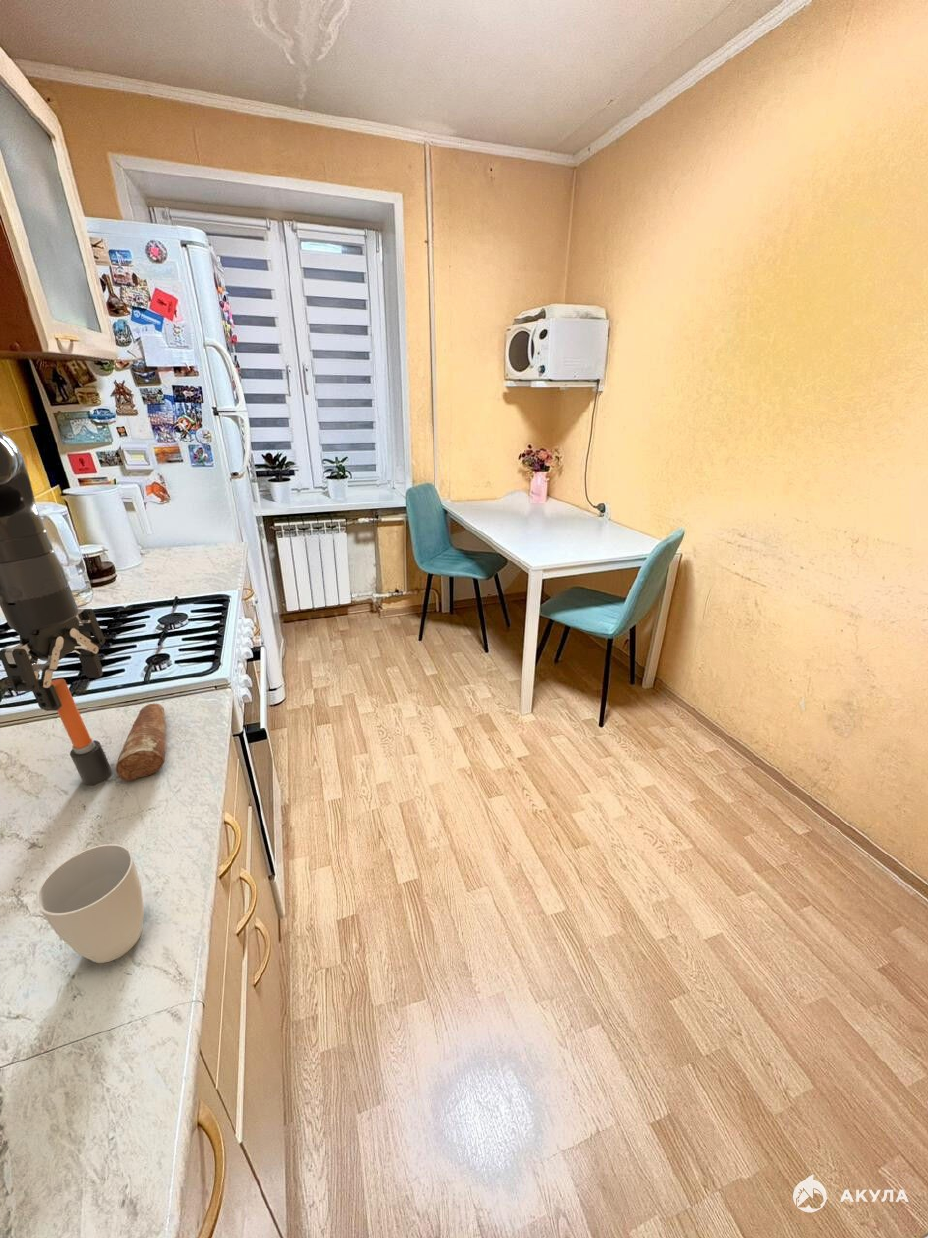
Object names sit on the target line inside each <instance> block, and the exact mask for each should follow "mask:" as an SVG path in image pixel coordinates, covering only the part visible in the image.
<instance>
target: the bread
mask: <svg viewBox="0 0 928 1238" xmlns="http://www.w3.org/2000/svg"><path fill="white" fill-rule="evenodd" d="M165 717H166V716H165V708H164V706H162V705H161V704H159V703H149V704H146V705H145V706H143V707H142V708H141V709H139V713H138V715H137V717H136V719H135V720H134V722H133V724H132V727H131V729H130V732H129V733H128V735H127V737H126V740H125V742H124V744H123V746H122V748H121V752H120V753H119V756H118V759H117V762H116V767H115V771H116V774H117V775H118V776H119V777H120V779H123V780H124V781H134V780H137V779H139V778H140V779H141V778H143V777H147V776H150V775H153V774H155V773H156V772H158V771H159V770H160V769H162V767H163V765H164V764H165V760H166V752H167V751H166V747H167V746H166V719H165Z"/></svg>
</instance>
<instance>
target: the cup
mask: <svg viewBox="0 0 928 1238" xmlns="http://www.w3.org/2000/svg"><path fill="white" fill-rule="evenodd" d="M35 903H36V906H37V908H38V910H39V911H40V913H41V915H43V917H44V918H45V919H46V921H47V922H48V924H49V925H50V927H51V928H52V929H53V931H54V932H55V934H56V935H57V936H58V937H59V938H60V939H61V940H62V941H64V943H66V945H68V946H69V947H70V948H71V949H72V950H73V951H74V952H75V953H76V954H78V955H80V956H82V957H84V958H86V959H87V960H90V961H91V962H94V963H97V964H104V963H109V962H113V961H114V960H116V959H119V958H121V957H122V956H124V955H125V954H126V953H128V952H129V951H130V950H131V949H132V948H133V947H134V946H135V945H136V944H137V942H138V941H139V939H140V937H141V935H142V933H143V925H144V923H143V922H144V914H145V908H144V907H145V906H144V897H143V891H142V882H141V880H140V876H139V873H138V870H137V866H136V863H135V860H134V856H133V853H132V851H131V850H130V849H129V848H128V847H126V846H124V845H122V844H119V843H118V844H117V843H107V844H100V845H96V846H92V847H90V848H87V849H85V850H83V851H80V852H78V853H76V854H74V855H73V856H71V857H70V858H68V859H66V860H64V861H63V862H62V863H60V864H59V865H57V867H56V868H54V869H53V870H52V871H51V872H50V873H49V874H48V876H46V878H45V879H44V880H43V881H42V882H41V884H40V886H39V888H38V890H37V893H36V898H35Z"/></svg>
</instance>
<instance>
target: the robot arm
mask: <svg viewBox="0 0 928 1238" xmlns="http://www.w3.org/2000/svg"><path fill="white" fill-rule="evenodd" d="M0 609H1V611H2V614H3V616H4V618H5V620H6V623H7V625H8V626H9V627H10V629H13V631H15V633H17V634H18V635H19V644H17V645H15V646H13V647H10V648H2V649H0V661H1V663H2V666H3V669H4V671H5V674H6V676H7V679H8V681H9V684H10V686H11V690H12V691H13V692H18V693H19V692H32V694H33V696H34V699H35V700H36V703H37V705H38V707H39V708H40V709H41V710H44V711H47V712H49V711H50V712H51V711H56V712H57V710H58V709H59V708H61V707H62V704H61V702H60V699H59V697H58V695H57V692H56V690H55V688H54V685H51V681H52V680H53V676H54V675H53V674H54V672H55V671H56V670H57V669H58V666H59V661H61V660H62V659H64V658H65V657H66V655H67V654H71V653H73V652H75V653H76V654H79V655H78V659H79V662H80V665H81V667H82V669H83V673H84V675H85V677H87V678H89V679H97V678H98V679H99V678H101V677H102V676H103V674H104V671H103V665H102V664H101V661H100V657H99V655H98V653H99V647H100V645H104V644H105V643H106V638H105V636H104V633H103V631H102V629H101V627H100V624H99V621H98V619H97V617H96V614H95V612H94V610H93V609H92V608H78V604H77V602H76V599H75V597H74V594H73V591H72V589H71V586H70V582H69V581H68V578H67V575H66V573H65V570H64V568H63V564H62V563H61V561H60V559H59V557H58V556H57V553H56V552H55V550H54V547H53V545H52V542H51V539H50V536H49V534H48V532H47V529H46V526H45V524H44V522H43V520H42V517H41V516H40V513H39V511H38V507H37V504H36V500H35V495H34V491H33V487H32V483H31V479H30V475H29V473H28V468H27V465H26V463H25V460H24V457H23V454H22V452H21V450H20V449H19V446H18V445H17V444H16V443H15V441H13V440H12V439H11V438H10V437H9V436H8V434H5V433H4V432H3V431H0ZM91 633H92V635H93V636H91ZM38 660H40V661H42V662H43V661H44V662H45V663H38ZM40 672H41V676H40V678H39V673H40Z"/></svg>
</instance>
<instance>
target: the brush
mask: <svg viewBox="0 0 928 1238" xmlns="http://www.w3.org/2000/svg"><path fill="white" fill-rule="evenodd" d="M51 685H54V688H55V690H56V692H57V695H58V697H59V699H60V702H61V704H62V707H61V708H59V709H58V710H56V712H57V714H58V717H59V718H60V720H61V723H62V725H63V727H64V729H65V731H66V733H67V735H68V737H69V740H70V741H71V743H72V749H71V750H70V752H69V756H70V759H71V760H72V762H73V764H74V766H75V768H76V770H77V773H78V775H79V777H80V779H81V781H82V783H83V785H85V786H96V785H99V784H101V783H104V782H105V781H107V780H108V779H110V778H111V776H112V775H113V769H112V768H111V765H110V763H109V760H108V758H107V755H106V754H105V751H104V749H103V747H102V744H101V742H100V741H99V740H97V739H96V740H95V739H93V738H92V737H91V735H90V734H89V732H88V729H87V727H86V724H85V722H84V720H83V717H82V716H81V713H80V711H79V709H78V706H77V704H76V702H75V700H74V697H73V696H72V693H71V691H70V688H69V687H68V683H67V682H66V679H64V678H55V679H52V681H51Z"/></svg>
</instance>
